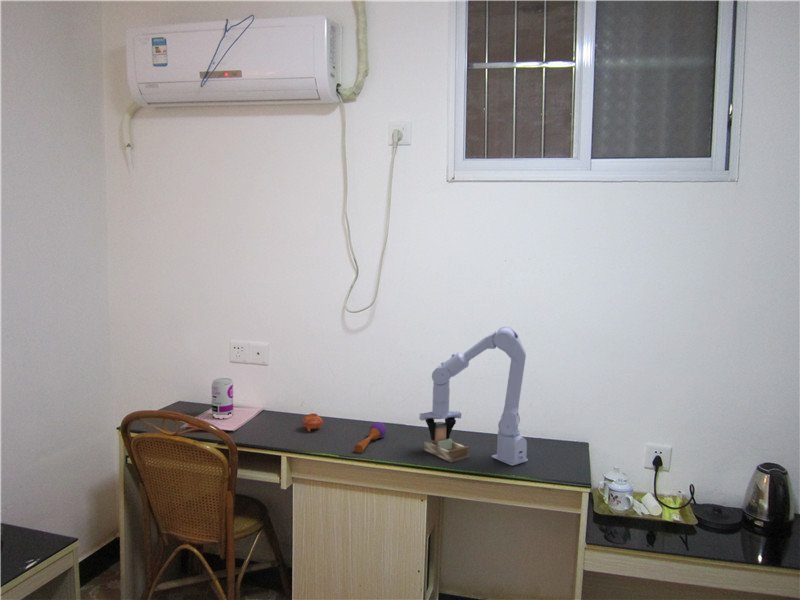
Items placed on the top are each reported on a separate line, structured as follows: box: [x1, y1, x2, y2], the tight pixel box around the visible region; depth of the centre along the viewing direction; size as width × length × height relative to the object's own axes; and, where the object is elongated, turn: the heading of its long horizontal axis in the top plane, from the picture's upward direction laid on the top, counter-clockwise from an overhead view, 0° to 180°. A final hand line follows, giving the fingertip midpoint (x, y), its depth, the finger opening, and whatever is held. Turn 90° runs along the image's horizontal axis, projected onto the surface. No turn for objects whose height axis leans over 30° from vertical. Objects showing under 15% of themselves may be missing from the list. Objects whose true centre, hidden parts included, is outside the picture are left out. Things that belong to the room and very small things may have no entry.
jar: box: [432, 421, 447, 446], centre depth 202 cm, size 5×5×7 cm
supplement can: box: [211, 377, 234, 415], centre depth 233 cm, size 8×8×15 cm
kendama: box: [353, 421, 387, 454], centre depth 207 cm, size 6×6×20 cm
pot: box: [301, 412, 324, 433], centre depth 220 cm, size 8×8×7 cm
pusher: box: [438, 437, 453, 450], centre depth 200 cm, size 1×6×3 cm, turn 127°
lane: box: [423, 440, 471, 463], centre depth 199 cm, size 14×8×4 cm, turn 37°
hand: (439, 439), depth 202 cm, fingers closed on jar, 5 cm apart
